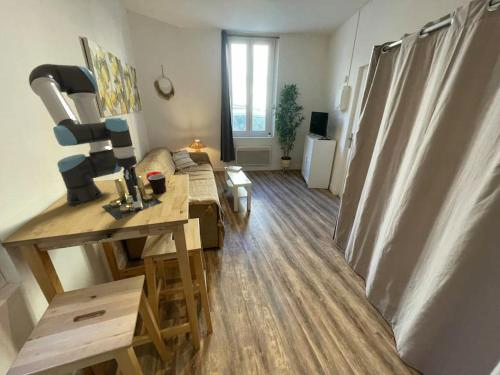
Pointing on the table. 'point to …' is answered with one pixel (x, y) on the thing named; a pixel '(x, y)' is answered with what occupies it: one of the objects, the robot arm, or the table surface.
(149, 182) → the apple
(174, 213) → the table surface
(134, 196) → the robot arm
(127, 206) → the knob front
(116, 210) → the levelling plate
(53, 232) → the table surface
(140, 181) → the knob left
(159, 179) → the coffee mug
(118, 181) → the knob back
